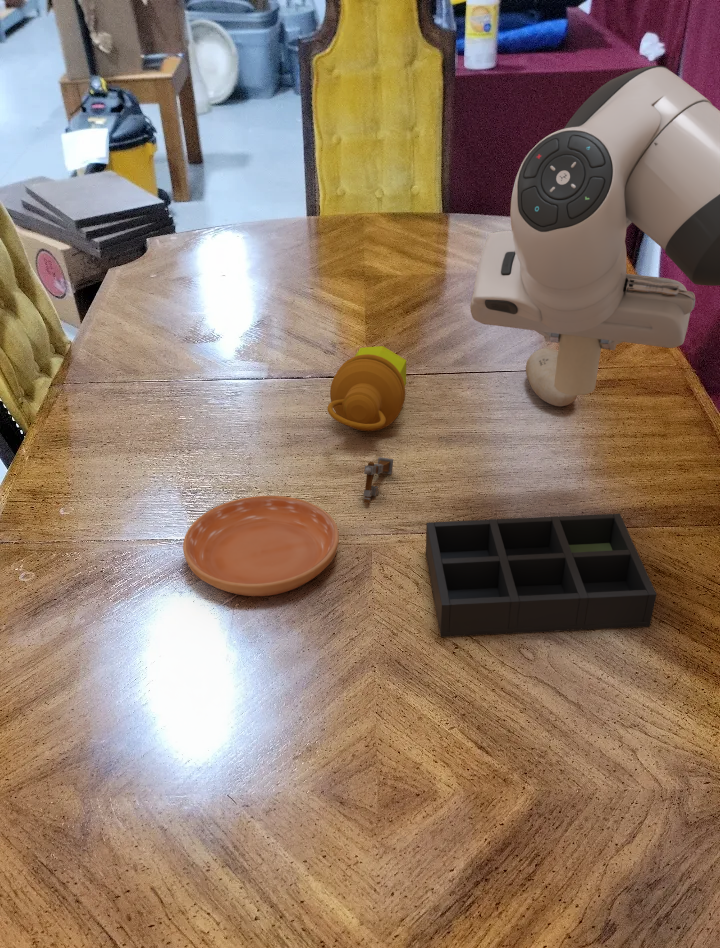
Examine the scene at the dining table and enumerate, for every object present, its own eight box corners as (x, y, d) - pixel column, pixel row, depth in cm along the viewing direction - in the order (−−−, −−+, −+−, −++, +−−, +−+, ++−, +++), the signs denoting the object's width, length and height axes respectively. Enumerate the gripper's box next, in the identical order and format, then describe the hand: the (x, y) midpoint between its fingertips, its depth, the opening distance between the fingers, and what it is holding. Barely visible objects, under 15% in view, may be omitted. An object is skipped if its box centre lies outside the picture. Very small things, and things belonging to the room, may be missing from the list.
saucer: (228, 627, 95) (225, 603, 93) (162, 547, 106) (157, 524, 104) (368, 572, 101) (368, 548, 100) (293, 502, 112) (291, 479, 110)
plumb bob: (345, 379, 136) (306, 450, 115) (360, 315, 131) (322, 377, 110) (408, 398, 136) (380, 472, 115) (426, 334, 131) (400, 400, 110)
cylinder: (590, 376, 104) (602, 292, 98) (599, 394, 101) (612, 308, 95) (550, 377, 104) (560, 293, 98) (558, 396, 101) (569, 310, 95)
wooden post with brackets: (356, 502, 110) (360, 461, 108) (374, 493, 117) (378, 455, 116) (371, 505, 109) (376, 464, 108) (389, 495, 117) (393, 457, 115)
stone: (545, 401, 123) (510, 338, 129) (550, 433, 128) (516, 371, 135) (589, 382, 123) (552, 320, 129) (592, 415, 128) (556, 354, 134)
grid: (614, 544, 104) (620, 513, 102) (650, 626, 94) (657, 594, 92) (425, 553, 104) (426, 522, 101) (440, 637, 94) (441, 605, 91)
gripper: (705, 254, 84) (694, 321, 97) (471, 230, 90) (491, 297, 103) (688, 326, 84) (680, 383, 97) (455, 297, 89) (477, 355, 103)
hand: (581, 338), depth 100 cm, fingers closed on cylinder, 4 cm apart
